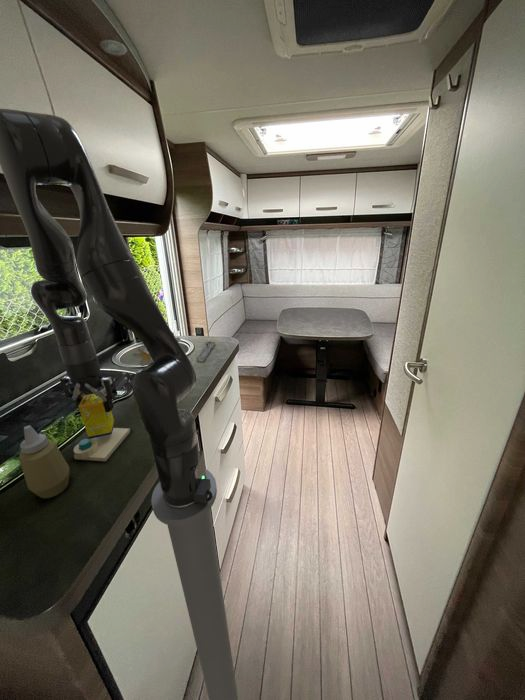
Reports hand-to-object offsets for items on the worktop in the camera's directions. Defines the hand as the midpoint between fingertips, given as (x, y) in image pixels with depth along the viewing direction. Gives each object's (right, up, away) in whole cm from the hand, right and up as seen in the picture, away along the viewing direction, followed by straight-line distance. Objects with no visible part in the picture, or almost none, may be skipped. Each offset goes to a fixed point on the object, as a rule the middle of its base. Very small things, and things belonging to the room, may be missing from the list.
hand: (96, 410), depth 78 cm
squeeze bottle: (-3, -16, -12) cm, 20 cm away
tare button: (-1, -9, -3) cm, 10 cm away
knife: (+18, +16, +63) cm, 67 cm away
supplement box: (0, -7, +3) cm, 7 cm away
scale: (+1, -10, +1) cm, 10 cm away
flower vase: (+12, 0, +25) cm, 27 cm away
